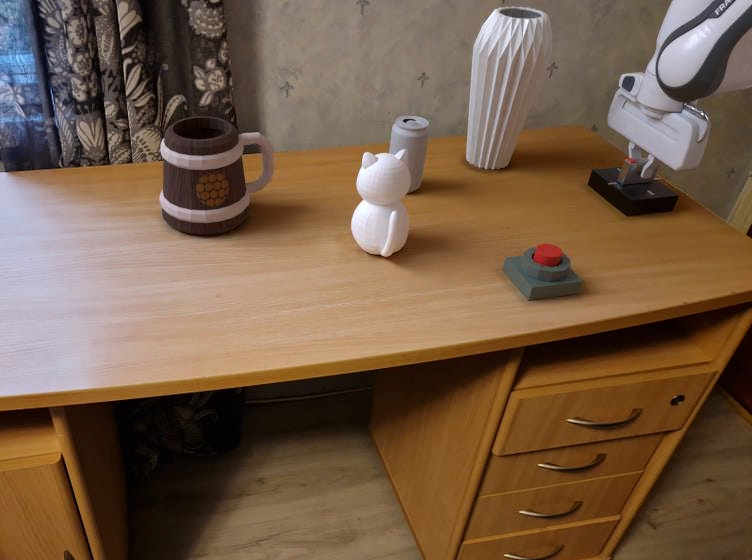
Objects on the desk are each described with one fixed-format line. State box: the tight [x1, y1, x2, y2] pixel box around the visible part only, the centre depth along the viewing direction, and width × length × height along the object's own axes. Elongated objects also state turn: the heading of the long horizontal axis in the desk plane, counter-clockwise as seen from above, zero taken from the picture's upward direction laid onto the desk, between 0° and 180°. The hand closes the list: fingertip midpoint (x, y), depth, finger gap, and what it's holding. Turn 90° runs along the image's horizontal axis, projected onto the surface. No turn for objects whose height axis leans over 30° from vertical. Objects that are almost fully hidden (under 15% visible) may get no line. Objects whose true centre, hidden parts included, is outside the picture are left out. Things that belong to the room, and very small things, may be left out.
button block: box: [501, 246, 584, 301], centre depth 99 cm, size 8×8×4 cm
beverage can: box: [388, 115, 431, 194], centre depth 119 cm, size 6×6×12 cm
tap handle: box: [617, 156, 660, 185], centre depth 117 cm, size 6×2×4 cm, turn 102°
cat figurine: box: [350, 149, 411, 258], centre depth 102 cm, size 9×12×15 cm
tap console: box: [586, 166, 680, 217], centre depth 119 cm, size 12×10×3 cm
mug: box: [158, 115, 275, 236], centre depth 110 cm, size 20×15×15 cm
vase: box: [465, 6, 553, 171], centre depth 123 cm, size 13×13×26 cm
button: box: [533, 243, 564, 267], centre depth 97 cm, size 4×4×2 cm
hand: (638, 172), depth 117 cm, fingers closed on tap handle, 2 cm apart
